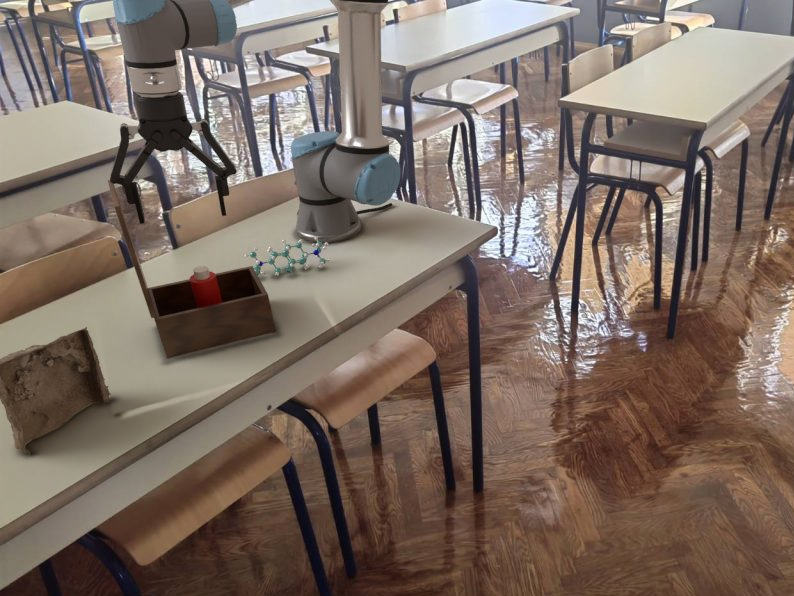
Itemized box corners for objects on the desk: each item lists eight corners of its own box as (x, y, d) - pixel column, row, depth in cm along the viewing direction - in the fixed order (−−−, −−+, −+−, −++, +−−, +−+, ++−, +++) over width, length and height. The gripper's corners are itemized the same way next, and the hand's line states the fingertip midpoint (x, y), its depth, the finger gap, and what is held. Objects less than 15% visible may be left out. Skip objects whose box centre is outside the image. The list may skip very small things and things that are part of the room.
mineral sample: (28, 457, 117) (-12, 376, 108) (11, 450, 118) (-30, 369, 109) (118, 399, 129) (88, 322, 120) (101, 393, 130) (71, 316, 122)
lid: (112, 179, 130) (107, 180, 130) (119, 205, 121) (114, 206, 120) (147, 285, 142) (142, 286, 142) (156, 317, 133) (151, 318, 132)
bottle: (226, 319, 149) (211, 261, 141) (230, 330, 145) (215, 271, 138) (201, 325, 147) (185, 266, 139) (206, 336, 143) (189, 277, 136)
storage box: (261, 305, 155) (252, 265, 150) (276, 335, 145) (268, 294, 140) (158, 328, 148) (145, 288, 142) (168, 362, 138) (154, 320, 133)
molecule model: (247, 273, 167) (240, 242, 162) (326, 257, 173) (322, 228, 168) (253, 289, 161) (246, 258, 156) (335, 272, 167) (330, 242, 162)
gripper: (70, 101, 117) (105, 231, 128) (239, 93, 125) (258, 217, 137) (74, 91, 123) (107, 217, 134) (235, 84, 131) (254, 203, 142)
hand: (183, 217), depth 135 cm, fingers open, 13 cm apart
